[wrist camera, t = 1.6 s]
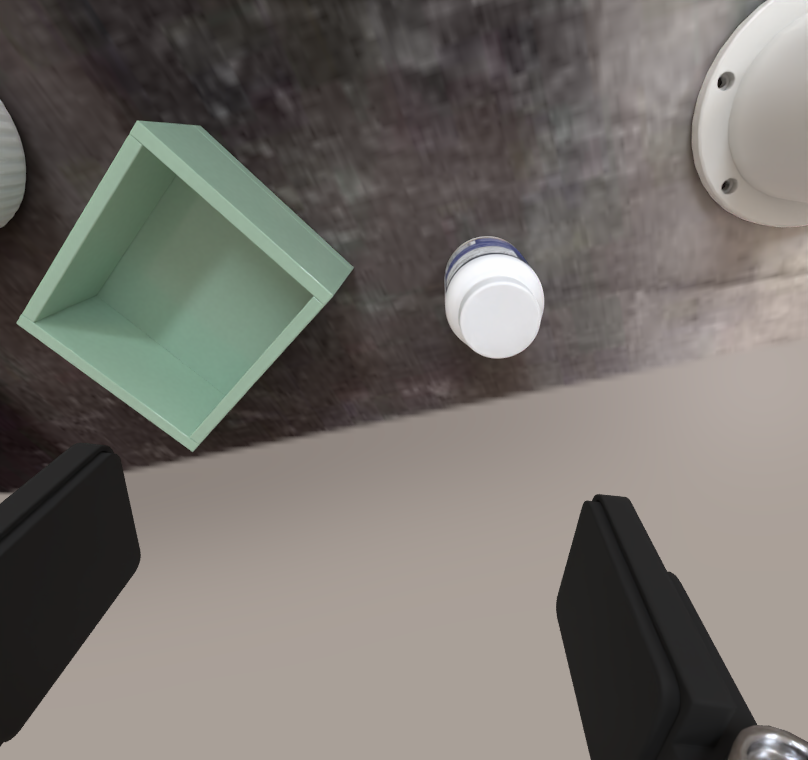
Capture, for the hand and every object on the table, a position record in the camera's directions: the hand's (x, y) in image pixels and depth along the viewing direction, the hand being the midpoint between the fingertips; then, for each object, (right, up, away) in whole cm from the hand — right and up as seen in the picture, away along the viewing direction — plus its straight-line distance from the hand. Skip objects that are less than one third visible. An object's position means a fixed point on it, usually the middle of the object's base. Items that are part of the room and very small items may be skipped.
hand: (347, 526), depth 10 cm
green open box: (-12, +10, +25) cm, 29 cm away
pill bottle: (+7, +10, +23) cm, 26 cm away
